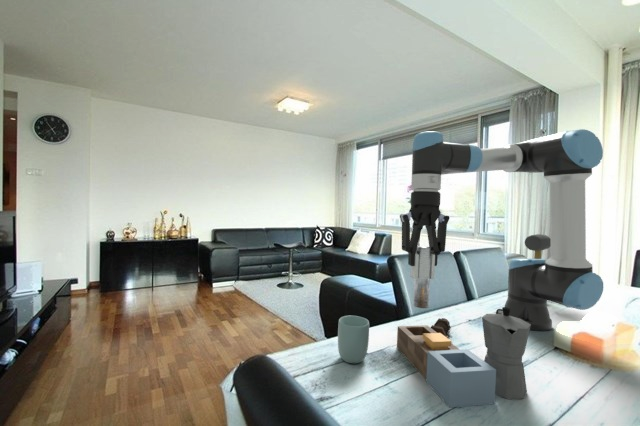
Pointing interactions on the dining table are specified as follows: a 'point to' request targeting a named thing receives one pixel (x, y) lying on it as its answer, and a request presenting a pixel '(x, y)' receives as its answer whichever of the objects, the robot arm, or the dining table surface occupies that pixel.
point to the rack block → (461, 378)
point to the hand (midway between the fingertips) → (422, 277)
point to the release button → (436, 341)
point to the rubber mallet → (537, 244)
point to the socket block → (416, 345)
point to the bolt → (441, 326)
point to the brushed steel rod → (422, 278)
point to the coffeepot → (506, 352)
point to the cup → (353, 338)
